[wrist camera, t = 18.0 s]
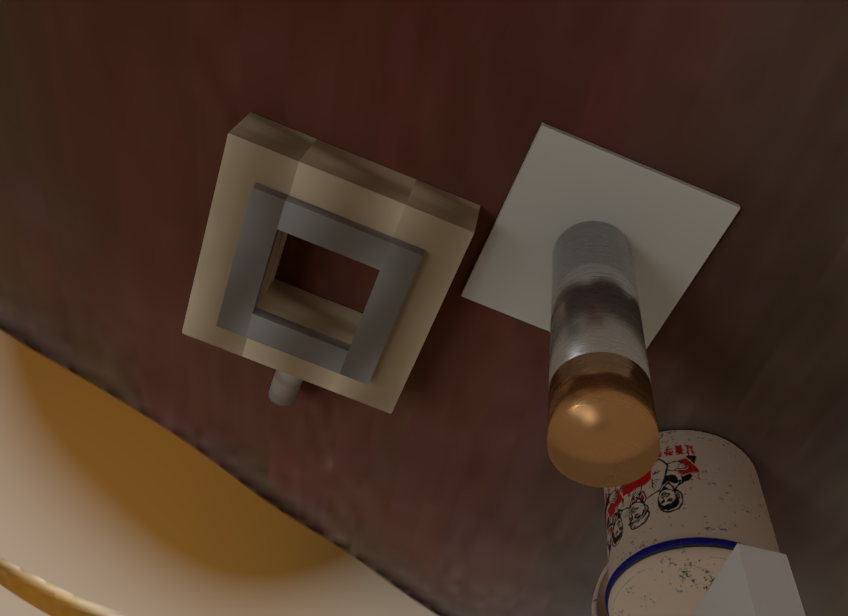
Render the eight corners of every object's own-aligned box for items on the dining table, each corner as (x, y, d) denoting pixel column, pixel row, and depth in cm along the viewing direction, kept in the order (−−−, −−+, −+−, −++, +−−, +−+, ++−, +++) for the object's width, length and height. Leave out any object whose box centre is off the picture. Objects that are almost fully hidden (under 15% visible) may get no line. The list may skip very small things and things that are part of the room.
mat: (461, 292, 42) (461, 296, 41) (541, 122, 36) (541, 124, 36) (634, 361, 42) (635, 365, 42) (739, 204, 37) (740, 208, 36)
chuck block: (193, 343, 46) (167, 380, 43) (250, 111, 38) (223, 137, 35) (384, 417, 47) (371, 458, 44) (480, 205, 39) (473, 238, 36)
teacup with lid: (675, 395, 43) (707, 566, 33) (797, 479, 45) (861, 665, 35) (537, 511, 49) (530, 684, 39) (648, 581, 51) (668, 763, 41)
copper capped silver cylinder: (564, 212, 38) (563, 392, 26) (642, 230, 38) (676, 419, 26) (544, 279, 40) (534, 472, 28) (617, 296, 40) (639, 498, 28)
